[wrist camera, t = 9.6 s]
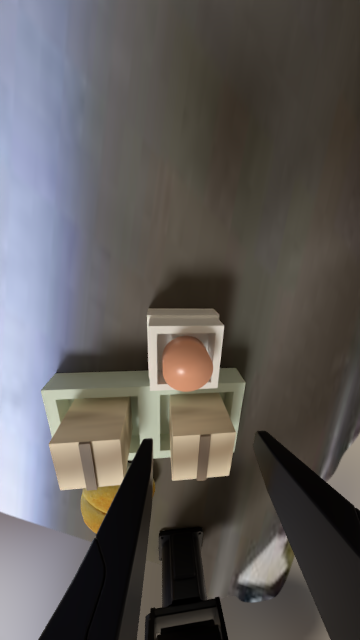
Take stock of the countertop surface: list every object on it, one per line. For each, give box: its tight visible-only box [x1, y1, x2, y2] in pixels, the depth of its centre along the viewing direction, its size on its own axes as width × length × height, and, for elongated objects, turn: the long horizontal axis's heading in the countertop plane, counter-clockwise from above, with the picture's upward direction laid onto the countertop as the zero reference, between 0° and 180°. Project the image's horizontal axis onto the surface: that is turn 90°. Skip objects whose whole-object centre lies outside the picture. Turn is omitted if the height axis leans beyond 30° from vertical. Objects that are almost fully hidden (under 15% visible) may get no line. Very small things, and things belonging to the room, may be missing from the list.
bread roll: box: [81, 463, 155, 534], centre depth 23 cm, size 8×9×4 cm
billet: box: [49, 396, 133, 491], centre depth 18 cm, size 5×5×6 cm
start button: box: [162, 336, 213, 392], centre depth 15 cm, size 4×4×2 cm
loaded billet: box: [169, 393, 236, 481], centre depth 19 cm, size 5×5×6 cm
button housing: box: [147, 308, 224, 391], centre depth 17 cm, size 6×6×4 cm
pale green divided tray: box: [41, 368, 246, 460], centre depth 20 cm, size 9×18×2 cm, turn 88°
